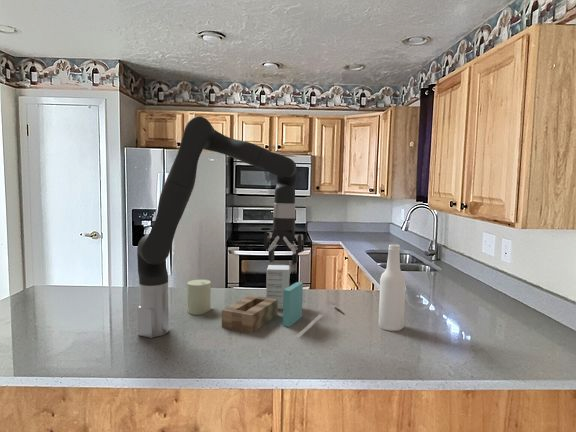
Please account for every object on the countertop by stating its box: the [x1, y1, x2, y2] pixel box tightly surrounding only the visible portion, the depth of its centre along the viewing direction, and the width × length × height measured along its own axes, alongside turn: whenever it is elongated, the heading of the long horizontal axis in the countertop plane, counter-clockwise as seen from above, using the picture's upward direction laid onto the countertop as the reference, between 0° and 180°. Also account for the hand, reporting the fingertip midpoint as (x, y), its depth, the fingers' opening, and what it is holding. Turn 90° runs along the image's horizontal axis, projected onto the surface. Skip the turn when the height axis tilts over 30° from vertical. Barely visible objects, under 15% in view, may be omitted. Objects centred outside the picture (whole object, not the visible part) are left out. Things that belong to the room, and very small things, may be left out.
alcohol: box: [378, 243, 407, 332], centre depth 143 cm, size 9×9×30 cm
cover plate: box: [282, 281, 304, 328], centre depth 145 cm, size 12×2×14 cm, turn 156°
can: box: [186, 279, 212, 316], centre depth 158 cm, size 9×9×12 cm
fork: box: [325, 299, 346, 315], centre depth 163 cm, size 3×16×2 cm, turn 18°
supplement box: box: [265, 264, 291, 310], centre depth 163 cm, size 10×9×17 cm
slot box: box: [221, 294, 279, 334], centre depth 145 cm, size 20×12×7 cm, turn 156°
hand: (283, 263), depth 138 cm, fingers open, 8 cm apart
